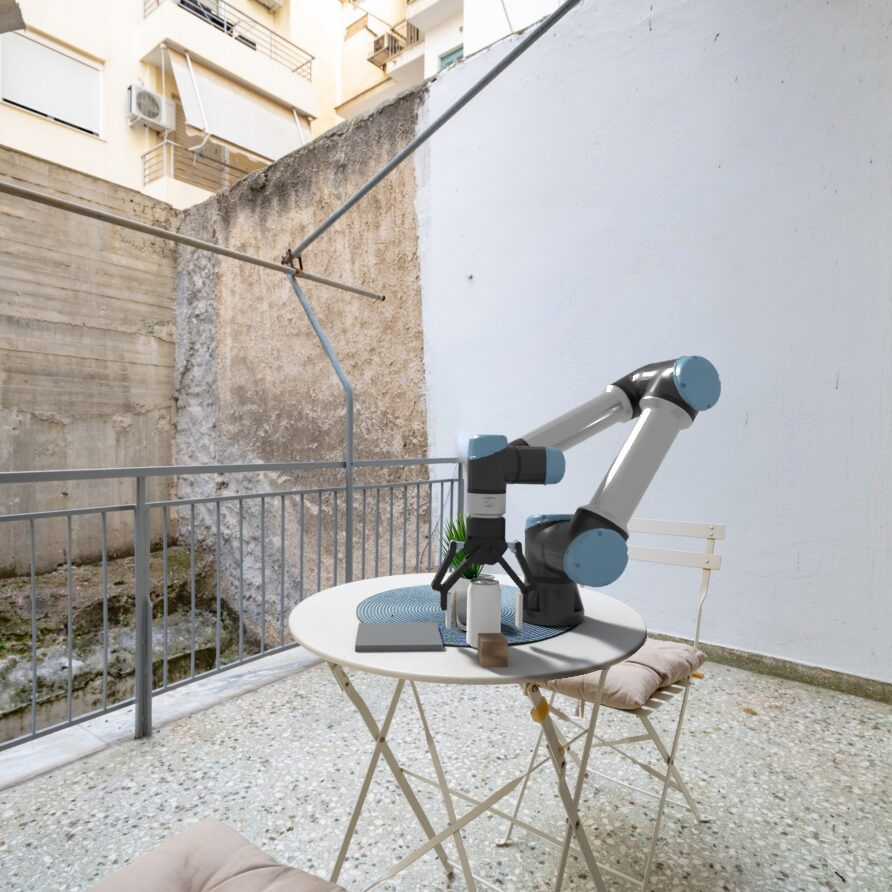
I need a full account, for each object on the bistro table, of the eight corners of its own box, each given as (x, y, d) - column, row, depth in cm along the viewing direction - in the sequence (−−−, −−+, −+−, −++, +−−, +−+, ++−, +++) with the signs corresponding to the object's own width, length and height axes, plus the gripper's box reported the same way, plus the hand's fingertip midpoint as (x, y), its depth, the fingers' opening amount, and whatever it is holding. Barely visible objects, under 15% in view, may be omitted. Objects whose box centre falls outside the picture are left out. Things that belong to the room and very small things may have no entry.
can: (490, 637, 115) (492, 576, 115) (506, 647, 109) (507, 583, 109) (460, 640, 113) (462, 578, 113) (475, 651, 107) (476, 586, 107)
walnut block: (502, 658, 104) (502, 632, 104) (507, 667, 100) (508, 641, 100) (477, 658, 104) (477, 633, 104) (481, 667, 99) (481, 641, 99)
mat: (436, 627, 121) (436, 622, 121) (442, 650, 107) (443, 644, 107) (358, 627, 120) (358, 622, 120) (354, 651, 106) (355, 645, 106)
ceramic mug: (454, 617, 129) (454, 583, 128) (491, 619, 128) (492, 584, 128) (450, 633, 118) (451, 595, 118) (490, 635, 117) (491, 597, 117)
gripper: (421, 516, 106) (419, 633, 106) (555, 518, 109) (553, 632, 109) (419, 512, 114) (417, 621, 114) (544, 514, 116) (542, 621, 116)
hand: (483, 627), depth 111 cm, fingers open, 13 cm apart
